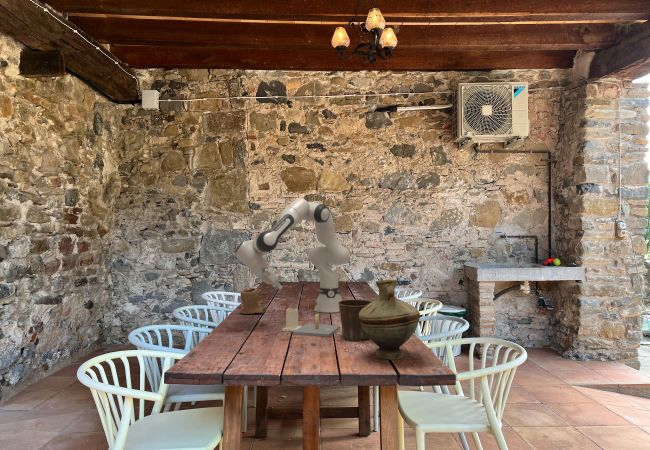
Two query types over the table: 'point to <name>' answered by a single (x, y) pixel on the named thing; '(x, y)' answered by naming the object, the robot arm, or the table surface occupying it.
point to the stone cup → (251, 302)
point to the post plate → (316, 329)
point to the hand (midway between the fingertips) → (279, 288)
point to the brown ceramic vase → (389, 321)
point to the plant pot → (352, 319)
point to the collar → (291, 320)
